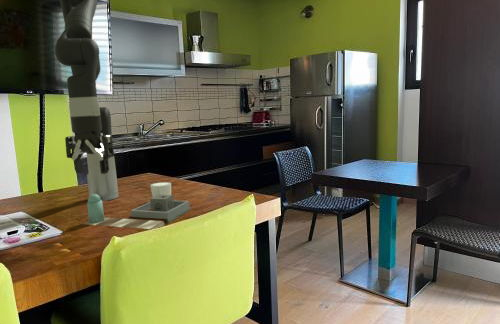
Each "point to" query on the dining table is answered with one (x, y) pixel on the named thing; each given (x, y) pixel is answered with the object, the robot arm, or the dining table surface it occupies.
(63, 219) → the dining table surface
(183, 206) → the tray
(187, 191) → the dining table surface
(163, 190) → the shot glass
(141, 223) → the track
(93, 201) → the pawn
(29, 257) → the dining table surface
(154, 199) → the dice cube
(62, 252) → the dining table surface
